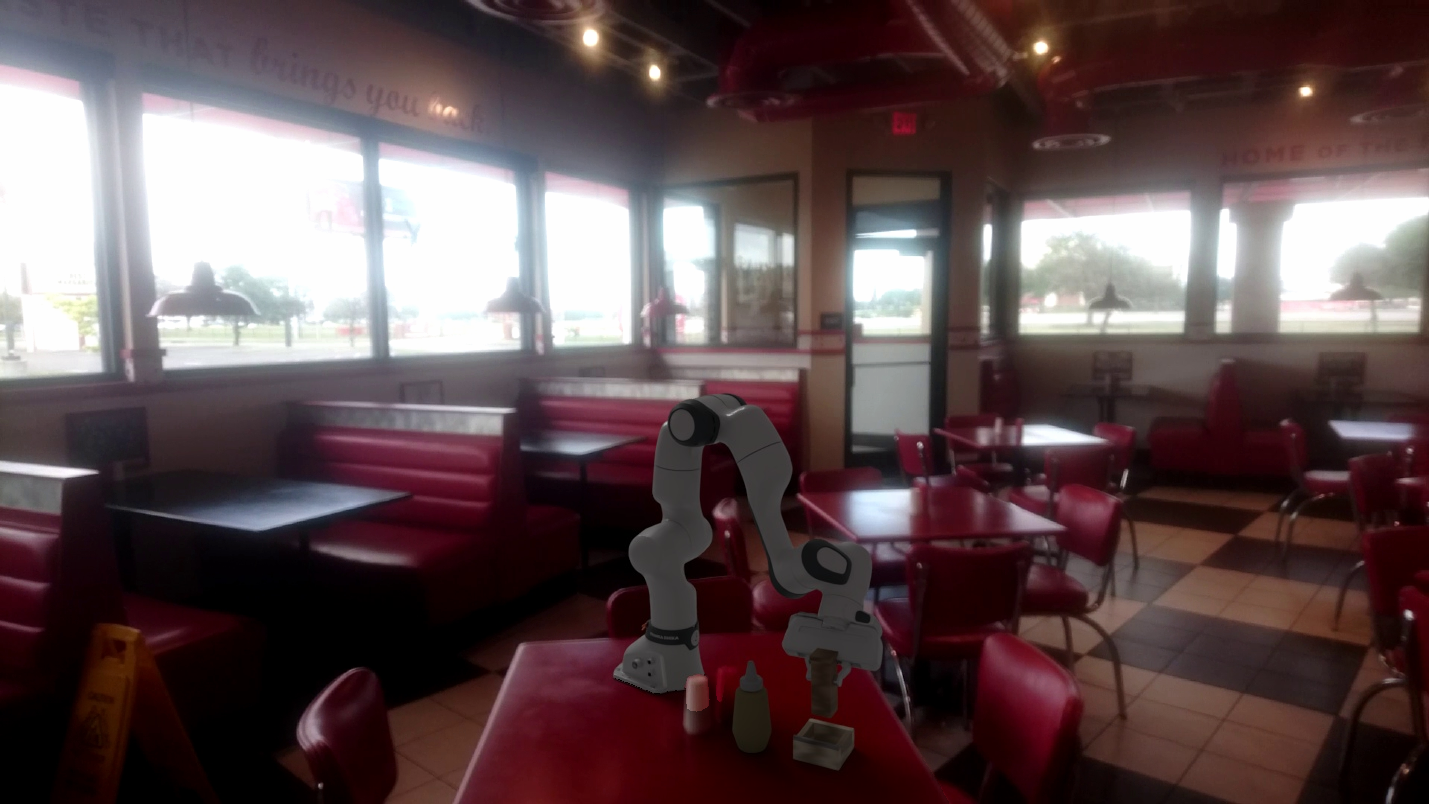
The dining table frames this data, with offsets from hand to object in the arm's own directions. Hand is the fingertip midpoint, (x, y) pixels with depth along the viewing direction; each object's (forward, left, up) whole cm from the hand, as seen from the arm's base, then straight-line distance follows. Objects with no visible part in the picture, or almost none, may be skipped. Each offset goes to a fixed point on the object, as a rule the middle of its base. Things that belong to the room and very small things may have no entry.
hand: (823, 682), depth 161 cm
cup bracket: (0, +1, -15) cm, 15 cm away
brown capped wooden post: (0, +1, -6) cm, 6 cm away
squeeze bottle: (-14, -3, -15) cm, 21 cm away
